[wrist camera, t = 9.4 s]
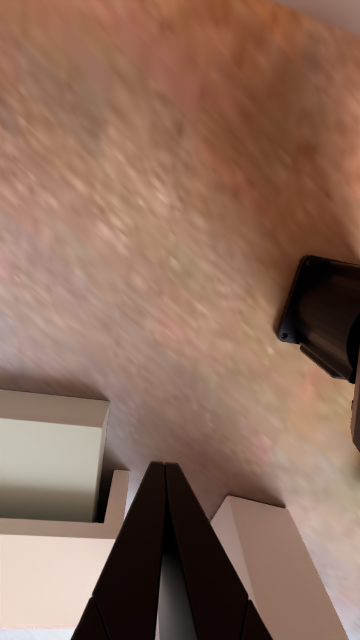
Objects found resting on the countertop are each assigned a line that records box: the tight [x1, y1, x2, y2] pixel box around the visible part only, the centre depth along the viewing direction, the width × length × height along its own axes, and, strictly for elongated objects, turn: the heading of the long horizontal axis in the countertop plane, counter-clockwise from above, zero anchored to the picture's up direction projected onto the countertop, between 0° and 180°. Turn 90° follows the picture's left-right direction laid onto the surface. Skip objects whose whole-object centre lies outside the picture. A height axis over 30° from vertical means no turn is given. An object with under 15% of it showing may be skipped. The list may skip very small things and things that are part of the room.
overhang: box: [0, 470, 130, 629], centre depth 21 cm, size 11×16×6 cm
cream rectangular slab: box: [0, 389, 110, 523], centre depth 21 cm, size 16×10×3 cm, turn 169°
